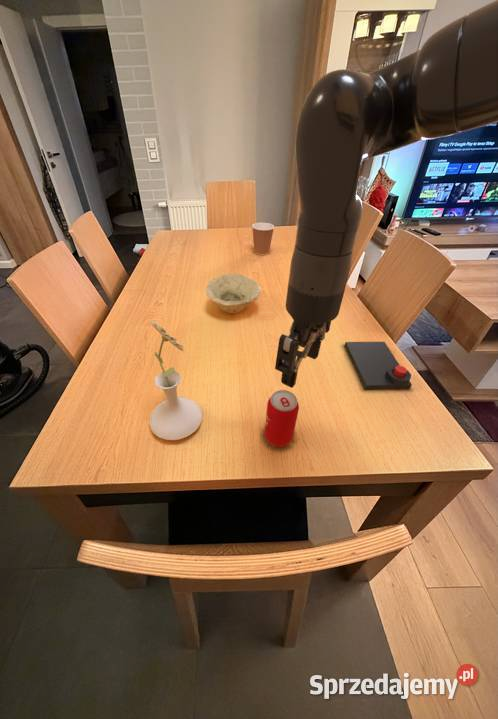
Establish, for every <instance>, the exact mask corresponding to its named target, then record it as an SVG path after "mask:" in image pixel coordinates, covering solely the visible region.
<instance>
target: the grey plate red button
mask: <svg viewBox="0 0 498 719" xmlns="http://www.w3.org/2000/svg"><path fill="white" fill-rule="evenodd" d="M343 346H344V349H345V351H346V353H347V355H348V358H349V359H350V362H351V364H352V366H353V368H354V370H355V373H356V374H357V377H358V380H359V382H360V383H361V385H362V387H363V389H364V390H365V391H376V390H378V391H380V390H381V391H383V390H386V391H387V390H410V389H411V387H412V385H413V383H412V381H410V380H411V379H412V374H411V372H410V371H409V370H408V369H406V370H407V372H406V374H405V376H404V377H403V378H400V377H397V376H395V375H394V374H393V371H394V369H395V367H396V366H401V365H400V364H399V362H398V360H397V359H396V357H395V356H394V354H393V352H392V351H391V349H390V347H389V346H388V344H387V343H386V342H385V341H345V343H344V345H343Z"/></svg>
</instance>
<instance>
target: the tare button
mask: <svg viewBox="0 0 498 719" xmlns="http://www.w3.org/2000/svg"><path fill="white" fill-rule="evenodd" d="M407 370H408V369H407V368H406V367H405V366H402V365H400V366H396V367H395V369H394V371H393V374H394V375H395V376H397V377H400V378H403V377H404V376H405V374H406V372H407Z"/></svg>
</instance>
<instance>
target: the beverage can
mask: <svg viewBox="0 0 498 719" xmlns="http://www.w3.org/2000/svg"><path fill="white" fill-rule="evenodd" d="M299 410H300V404H299V402H298V397H297V396H296V395H295V393H293V392H291V391H289V390H285V389H280V390H276V391H274V392H273V393H272V394H271V396H270V397H269V398H268V400H267V403H266V414H265V424H264V434H263V435H264V437H265V439H266V442H268V443H269V444H271V445H272V446H275V447H280V448H281V447H285V446H288V445H289V444H290V443H292V441H293V438H294V434H295V430H296V425H297V420H298V414H299Z"/></svg>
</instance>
